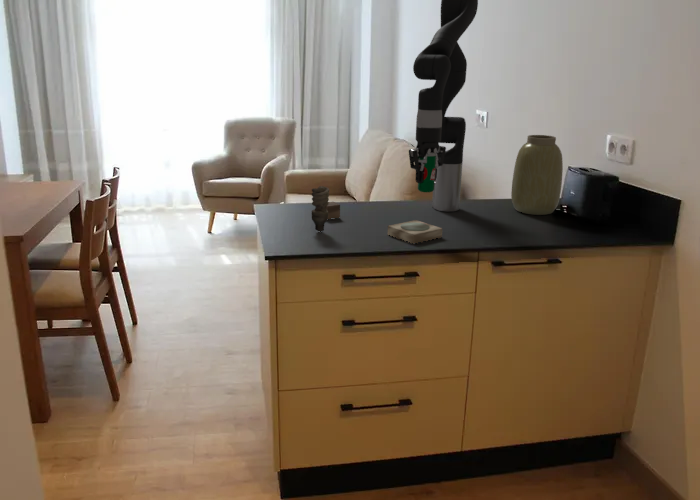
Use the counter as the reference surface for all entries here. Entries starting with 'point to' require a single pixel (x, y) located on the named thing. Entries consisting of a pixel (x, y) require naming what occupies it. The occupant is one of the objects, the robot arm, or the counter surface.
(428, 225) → the pedestal
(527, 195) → the vase
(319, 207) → the light bulb
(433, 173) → the soda can
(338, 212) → the walnut cube
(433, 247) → the counter surface
